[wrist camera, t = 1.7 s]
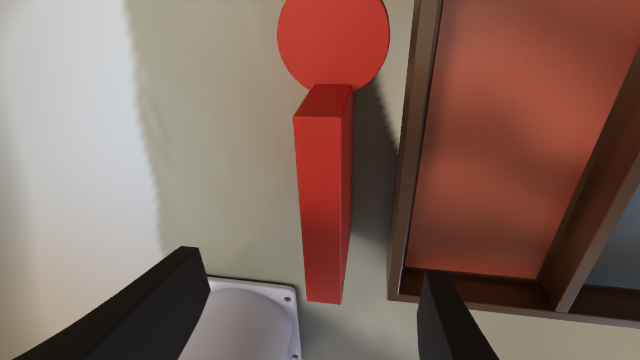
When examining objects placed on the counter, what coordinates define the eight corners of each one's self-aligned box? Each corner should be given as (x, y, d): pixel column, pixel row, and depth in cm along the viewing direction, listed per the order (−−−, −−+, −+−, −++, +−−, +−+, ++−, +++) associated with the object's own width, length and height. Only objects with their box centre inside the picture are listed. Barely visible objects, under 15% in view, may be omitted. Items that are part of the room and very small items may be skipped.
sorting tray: (714, 300, 18) (757, 342, 16) (386, 268, 21) (386, 300, 19) (1076, -106, 9) (1280, -131, 7) (421, -69, 12) (429, -79, 10)
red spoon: (374, 228, 19) (372, 309, 15) (302, 223, 20) (277, 297, 15) (393, -29, 13) (399, -33, 8) (283, -25, 13) (229, -27, 9)
